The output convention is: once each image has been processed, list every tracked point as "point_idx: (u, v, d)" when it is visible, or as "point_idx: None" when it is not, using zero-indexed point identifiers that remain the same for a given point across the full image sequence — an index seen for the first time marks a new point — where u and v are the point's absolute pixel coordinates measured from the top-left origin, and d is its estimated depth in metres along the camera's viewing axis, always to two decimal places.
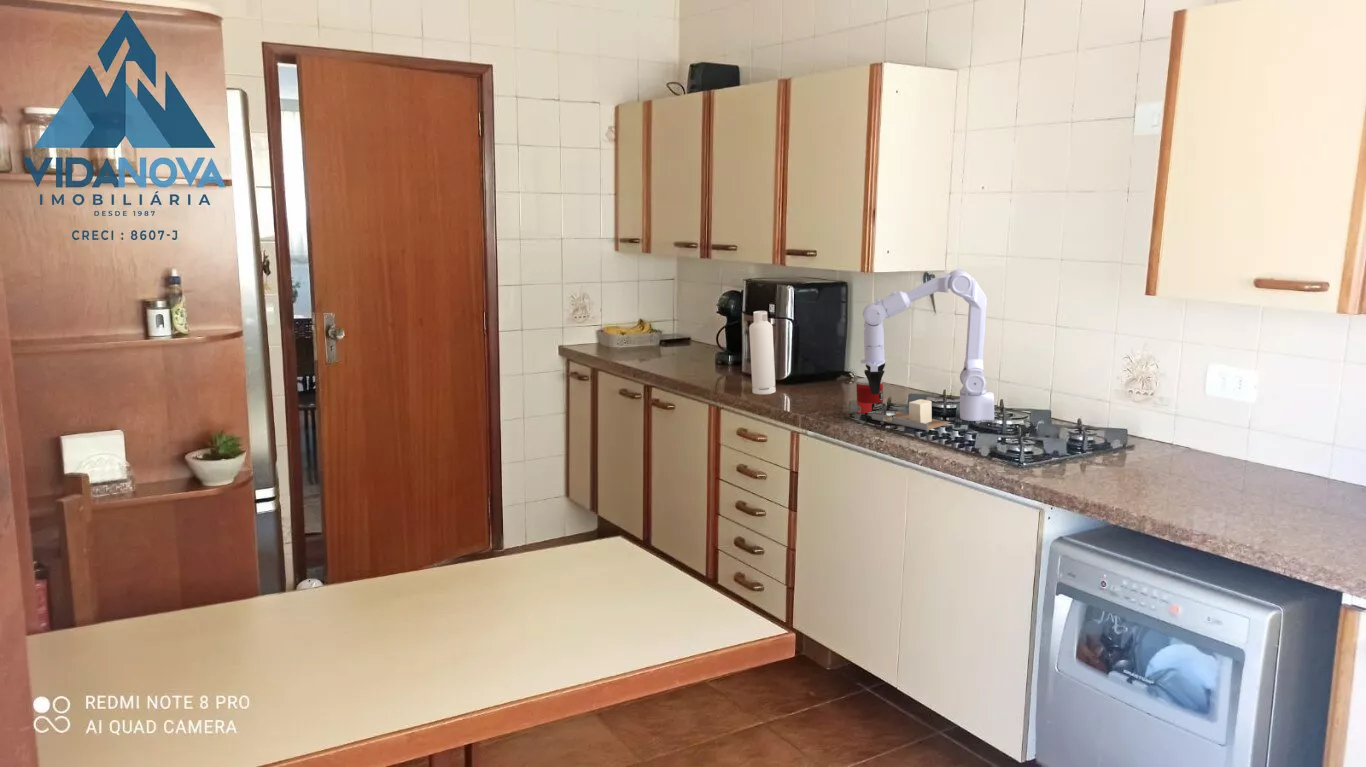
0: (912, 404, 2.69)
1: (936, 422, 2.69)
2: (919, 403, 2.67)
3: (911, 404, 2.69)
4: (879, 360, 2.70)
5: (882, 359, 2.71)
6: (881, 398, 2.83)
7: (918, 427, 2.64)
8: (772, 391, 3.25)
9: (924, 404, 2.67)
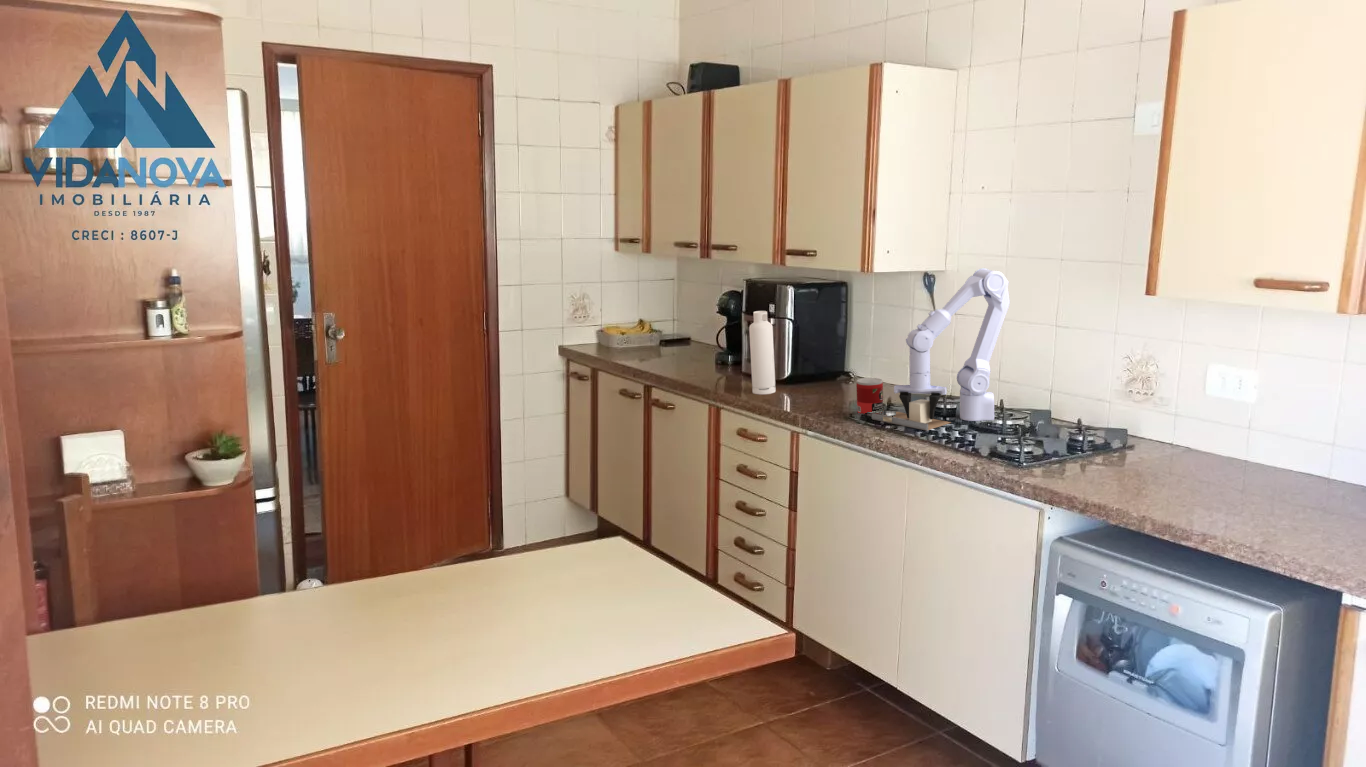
0: (912, 404, 2.69)
1: (936, 422, 2.69)
2: (919, 403, 2.67)
3: (911, 404, 2.69)
4: (910, 386, 2.68)
5: (912, 386, 2.67)
6: (881, 398, 2.83)
7: (918, 427, 2.64)
8: (772, 391, 3.25)
9: (924, 404, 2.67)
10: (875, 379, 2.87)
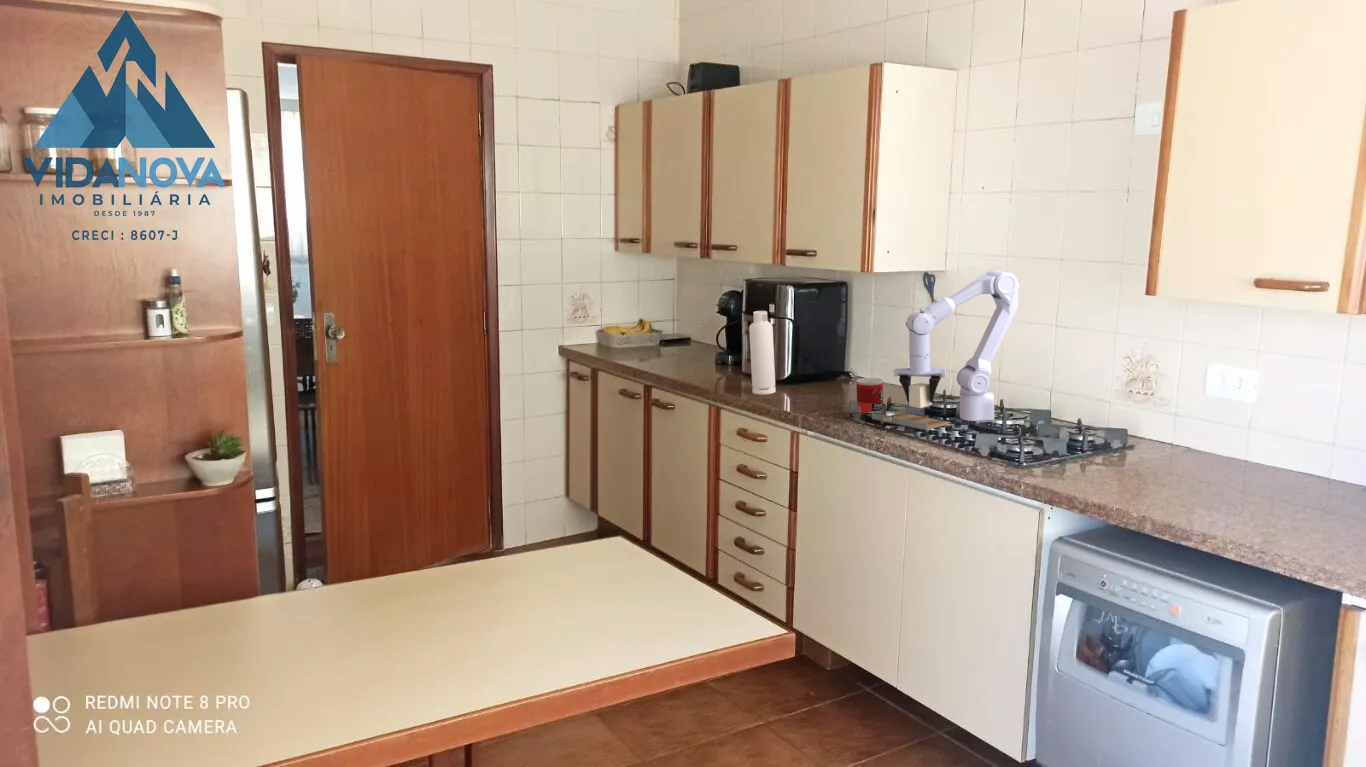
0: (912, 387, 2.67)
1: (936, 422, 2.69)
2: (919, 386, 2.66)
3: (911, 387, 2.68)
4: (910, 369, 2.67)
5: (912, 369, 2.66)
6: (881, 398, 2.83)
7: (918, 427, 2.64)
8: (772, 391, 3.25)
9: (924, 387, 2.66)
10: (875, 379, 2.87)
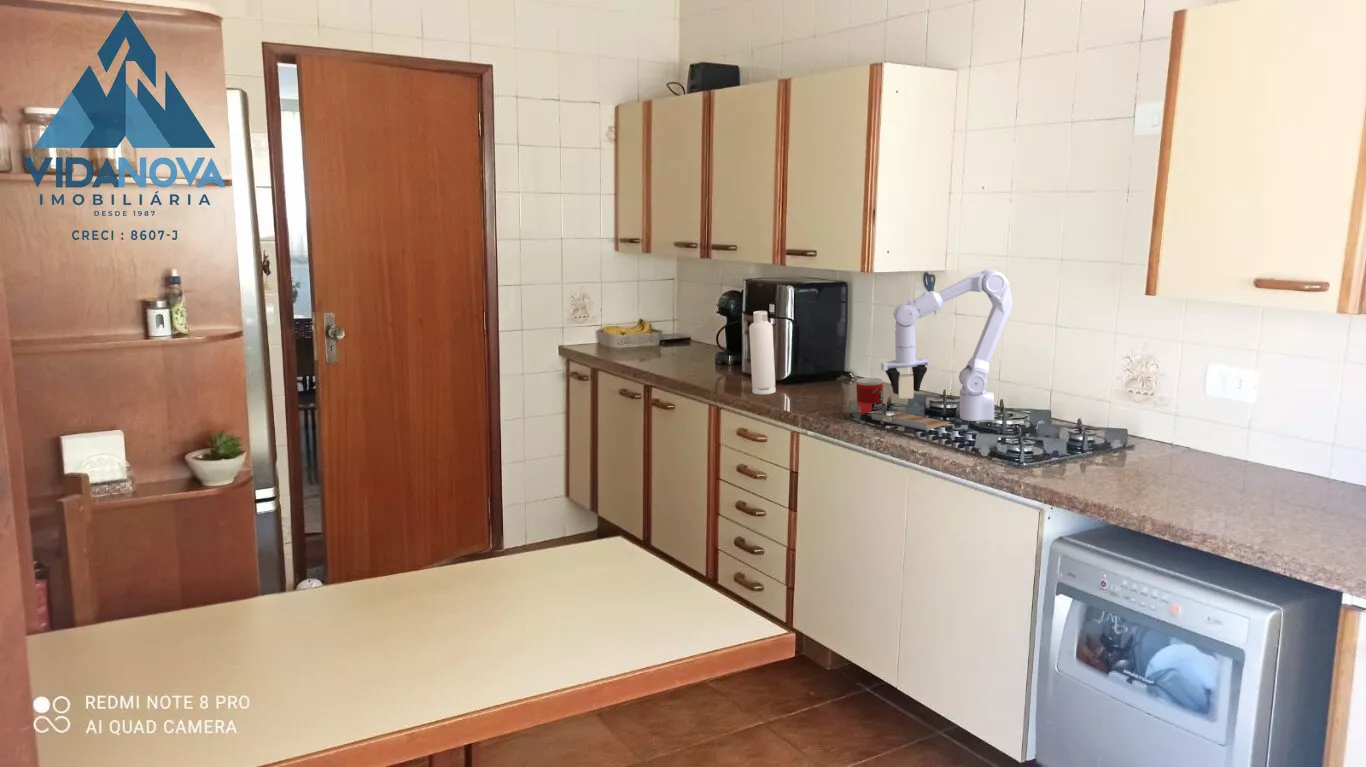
0: (903, 379, 2.69)
1: (936, 422, 2.69)
2: (909, 377, 2.69)
3: (901, 379, 2.69)
4: (900, 361, 2.68)
5: (903, 361, 2.68)
6: (881, 398, 2.83)
7: (918, 427, 2.64)
8: (772, 391, 3.25)
9: (913, 377, 2.70)
10: (875, 379, 2.87)
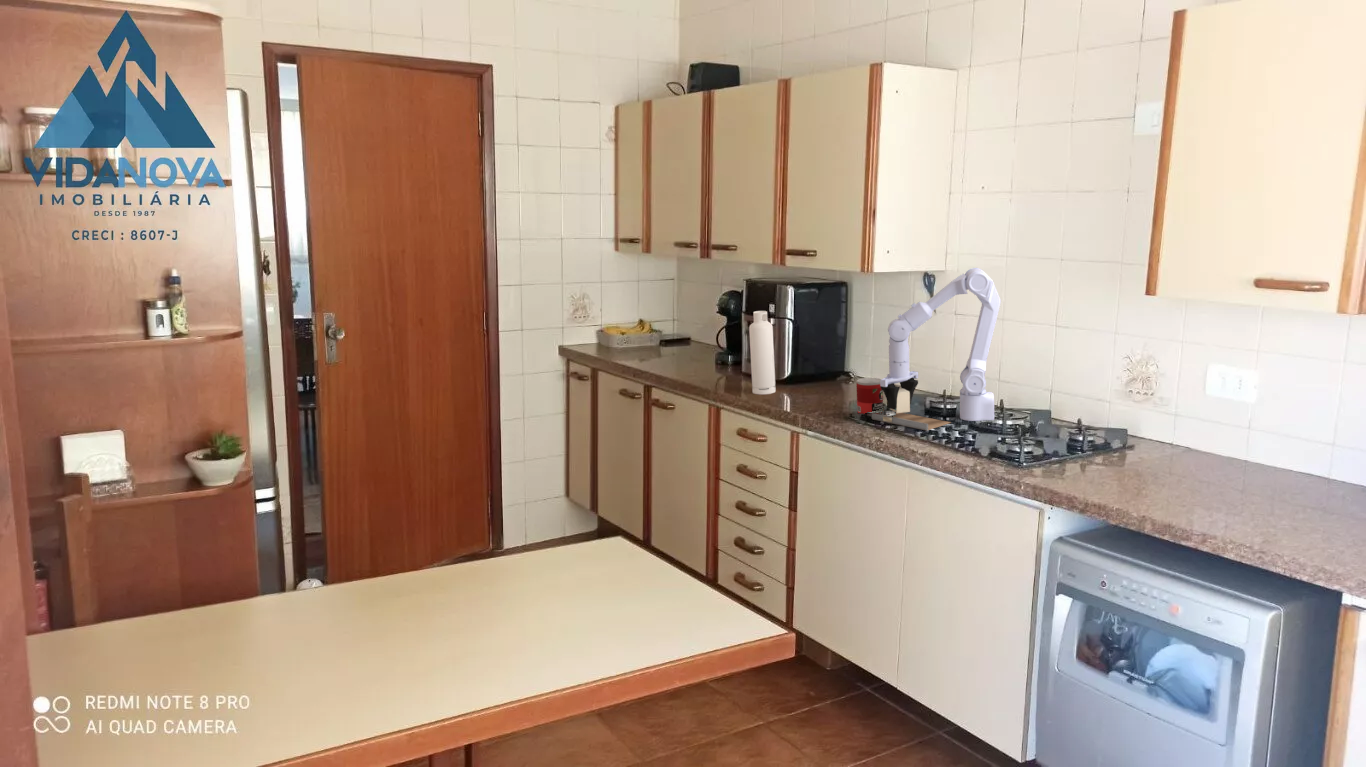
0: (900, 394, 2.72)
1: (936, 422, 2.69)
2: (905, 391, 2.73)
3: (899, 394, 2.71)
4: (897, 376, 2.70)
5: (901, 376, 2.70)
6: (881, 398, 2.83)
7: (918, 427, 2.64)
8: (772, 391, 3.25)
9: None
10: (875, 379, 2.87)
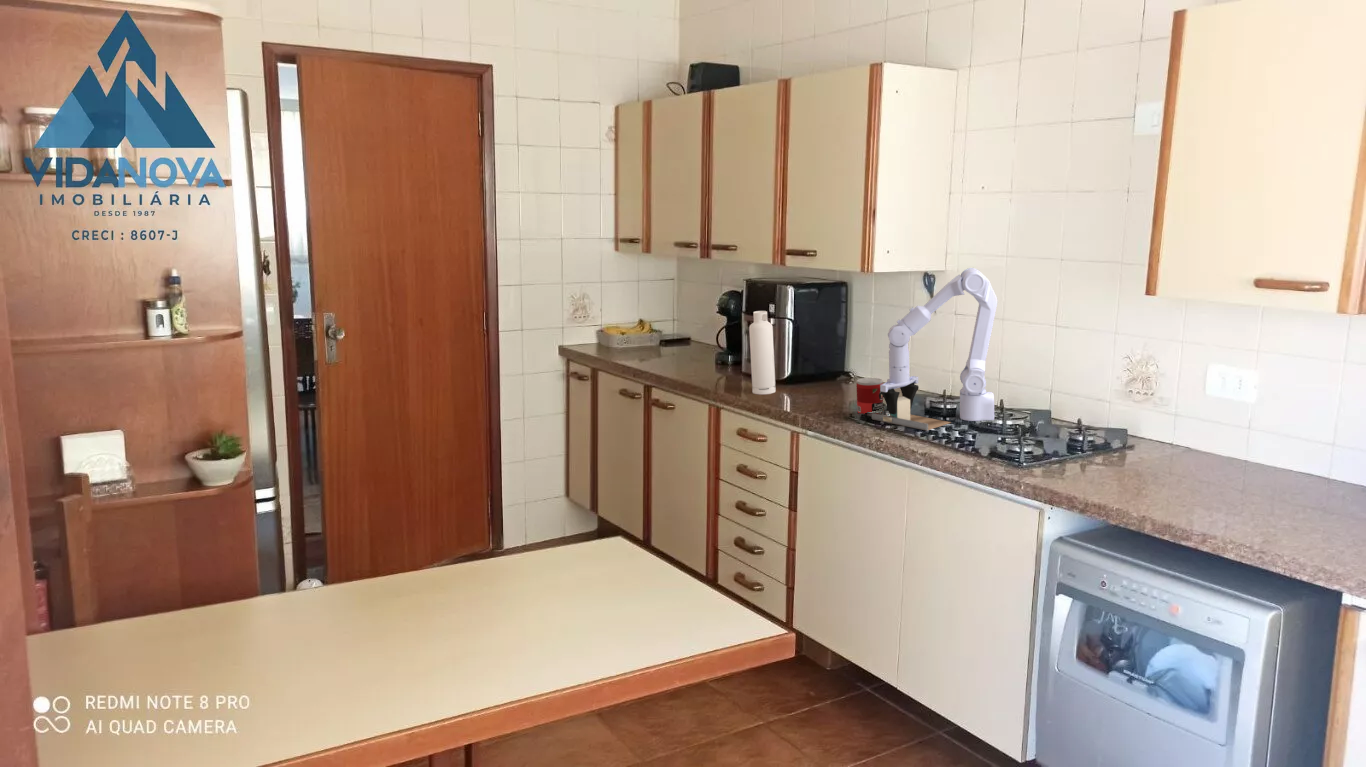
0: (901, 402, 2.72)
1: (936, 422, 2.69)
2: (905, 399, 2.73)
3: (900, 402, 2.72)
4: (897, 381, 2.71)
5: (901, 381, 2.71)
6: (881, 398, 2.83)
7: (918, 427, 2.64)
8: (772, 391, 3.25)
9: None
10: (875, 379, 2.87)
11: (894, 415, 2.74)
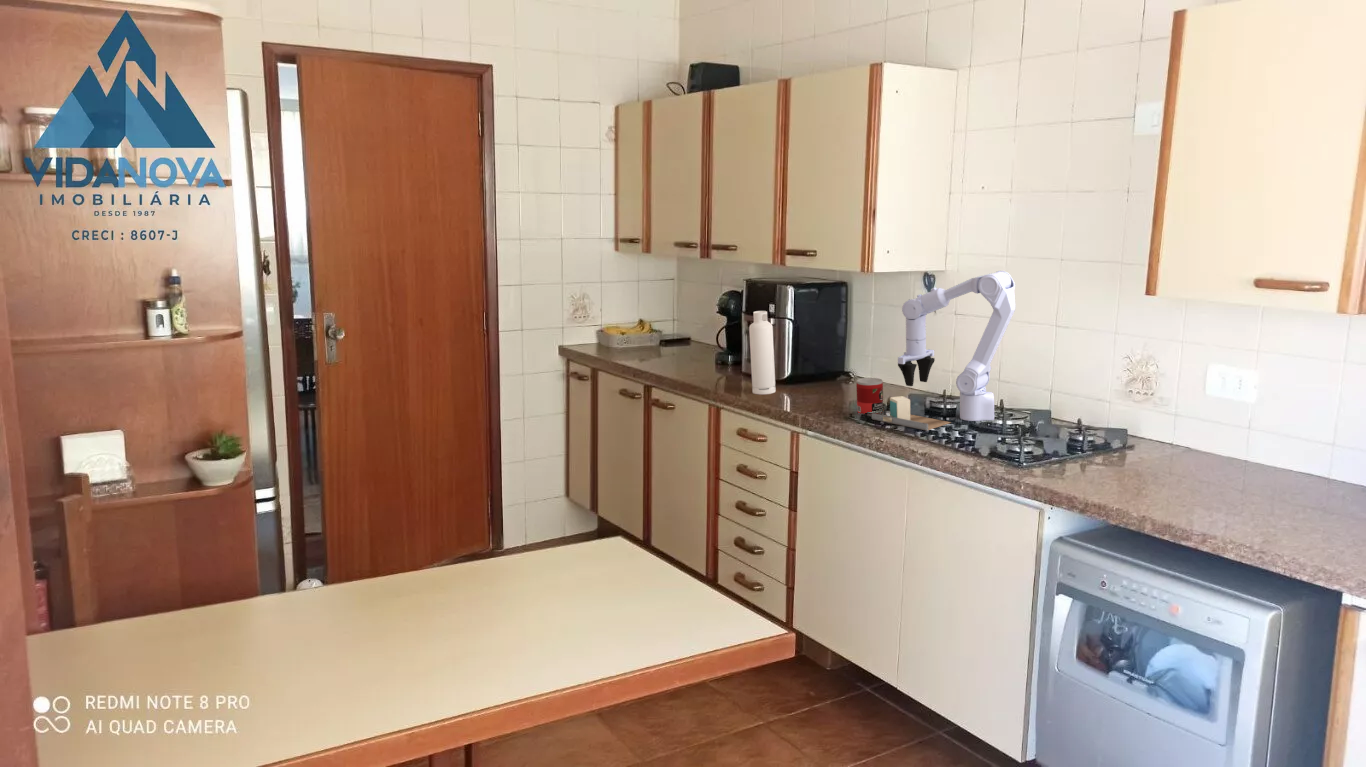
0: (901, 402, 2.72)
1: (936, 422, 2.69)
2: (905, 399, 2.73)
3: (900, 402, 2.72)
4: (914, 354, 2.76)
5: (918, 353, 2.76)
6: (881, 398, 2.83)
7: (918, 427, 2.64)
8: (772, 391, 3.25)
9: None
10: (875, 379, 2.87)
11: (894, 415, 2.74)
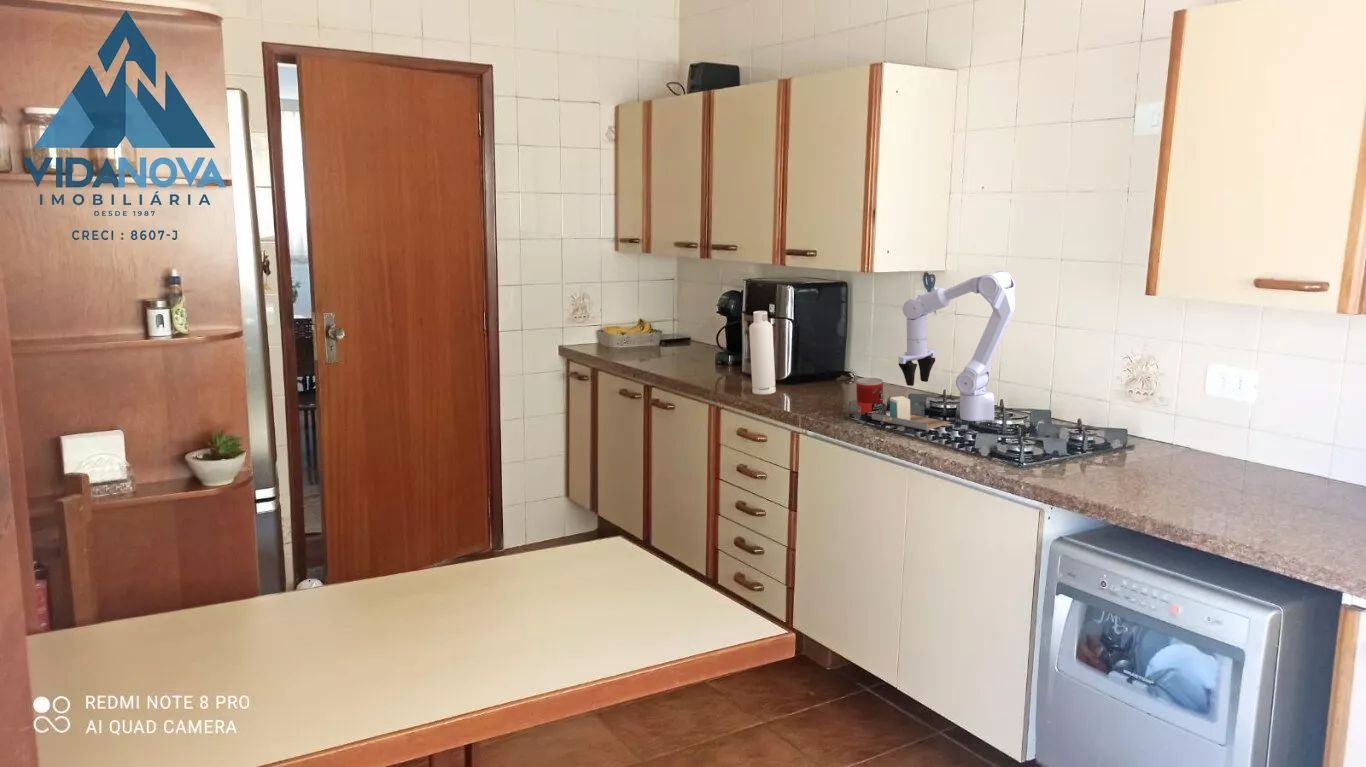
0: (901, 402, 2.72)
1: (936, 422, 2.69)
2: (905, 399, 2.73)
3: (900, 402, 2.72)
4: (915, 353, 2.77)
5: (919, 353, 2.77)
6: (881, 398, 2.83)
7: (918, 427, 2.64)
8: (772, 391, 3.25)
9: None
10: (875, 379, 2.87)
11: (894, 415, 2.74)
